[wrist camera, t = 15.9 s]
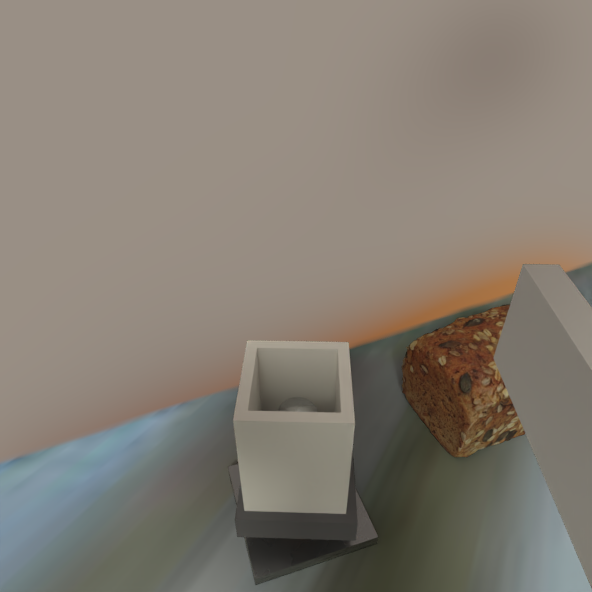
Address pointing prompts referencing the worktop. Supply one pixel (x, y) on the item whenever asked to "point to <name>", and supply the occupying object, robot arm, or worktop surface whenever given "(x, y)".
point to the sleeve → (295, 427)
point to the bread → (461, 384)
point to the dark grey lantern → (299, 552)
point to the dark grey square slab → (299, 521)
